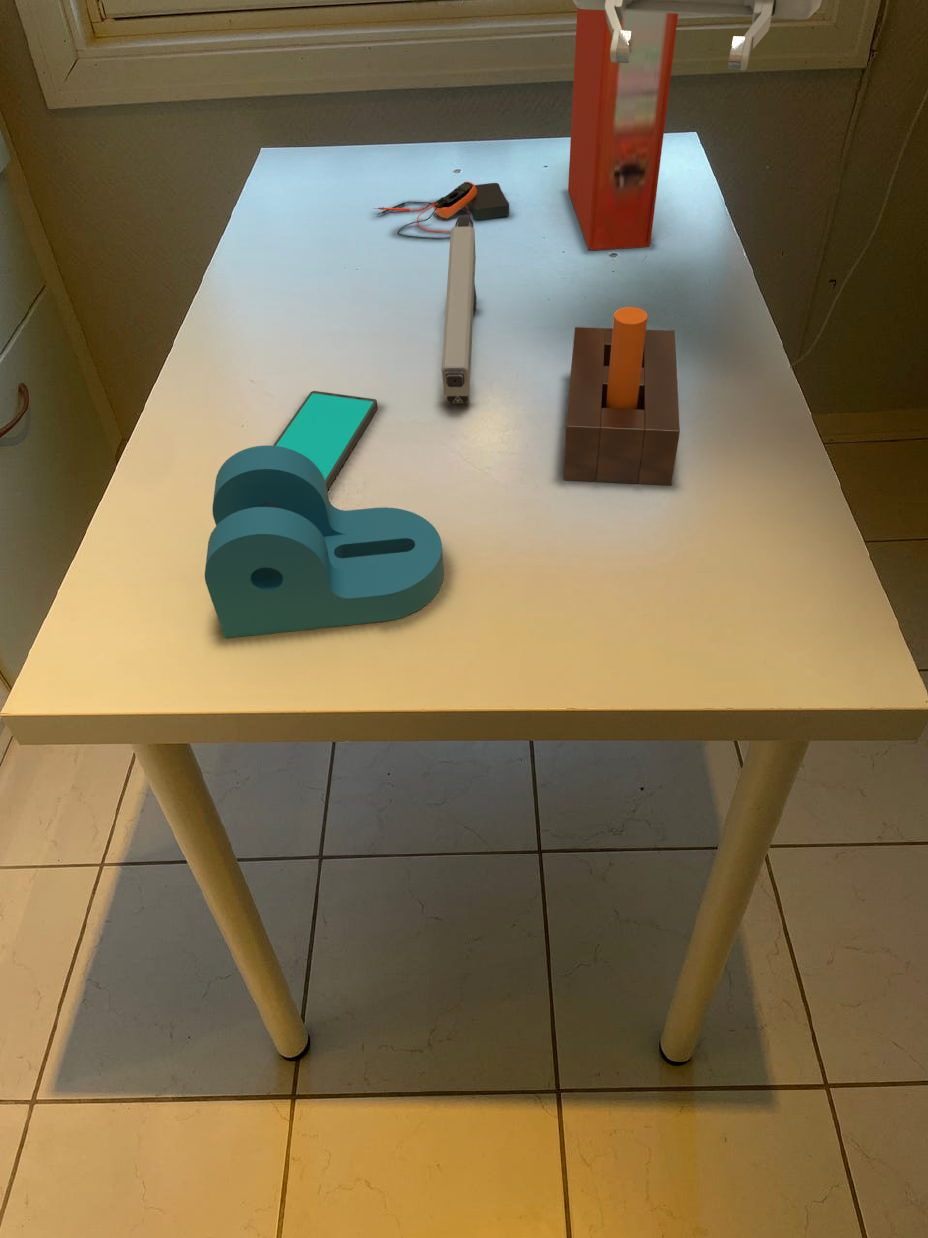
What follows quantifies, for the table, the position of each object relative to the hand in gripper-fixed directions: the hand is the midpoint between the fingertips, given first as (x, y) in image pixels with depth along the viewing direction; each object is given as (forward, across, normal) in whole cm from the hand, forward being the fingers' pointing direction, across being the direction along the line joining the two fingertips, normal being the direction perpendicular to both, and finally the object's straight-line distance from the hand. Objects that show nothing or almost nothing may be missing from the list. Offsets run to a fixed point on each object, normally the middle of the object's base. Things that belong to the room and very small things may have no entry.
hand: (677, 62), depth 75 cm
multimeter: (-1, -32, +43) cm, 54 cm away
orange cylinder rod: (+30, 0, +12) cm, 32 cm away
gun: (+20, -20, +22) cm, 35 cm away
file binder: (-4, -10, +46) cm, 48 cm away
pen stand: (+27, 0, +14) cm, 31 cm away
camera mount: (+46, -19, -4) cm, 50 cm away
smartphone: (+34, -28, +7) cm, 45 cm away
